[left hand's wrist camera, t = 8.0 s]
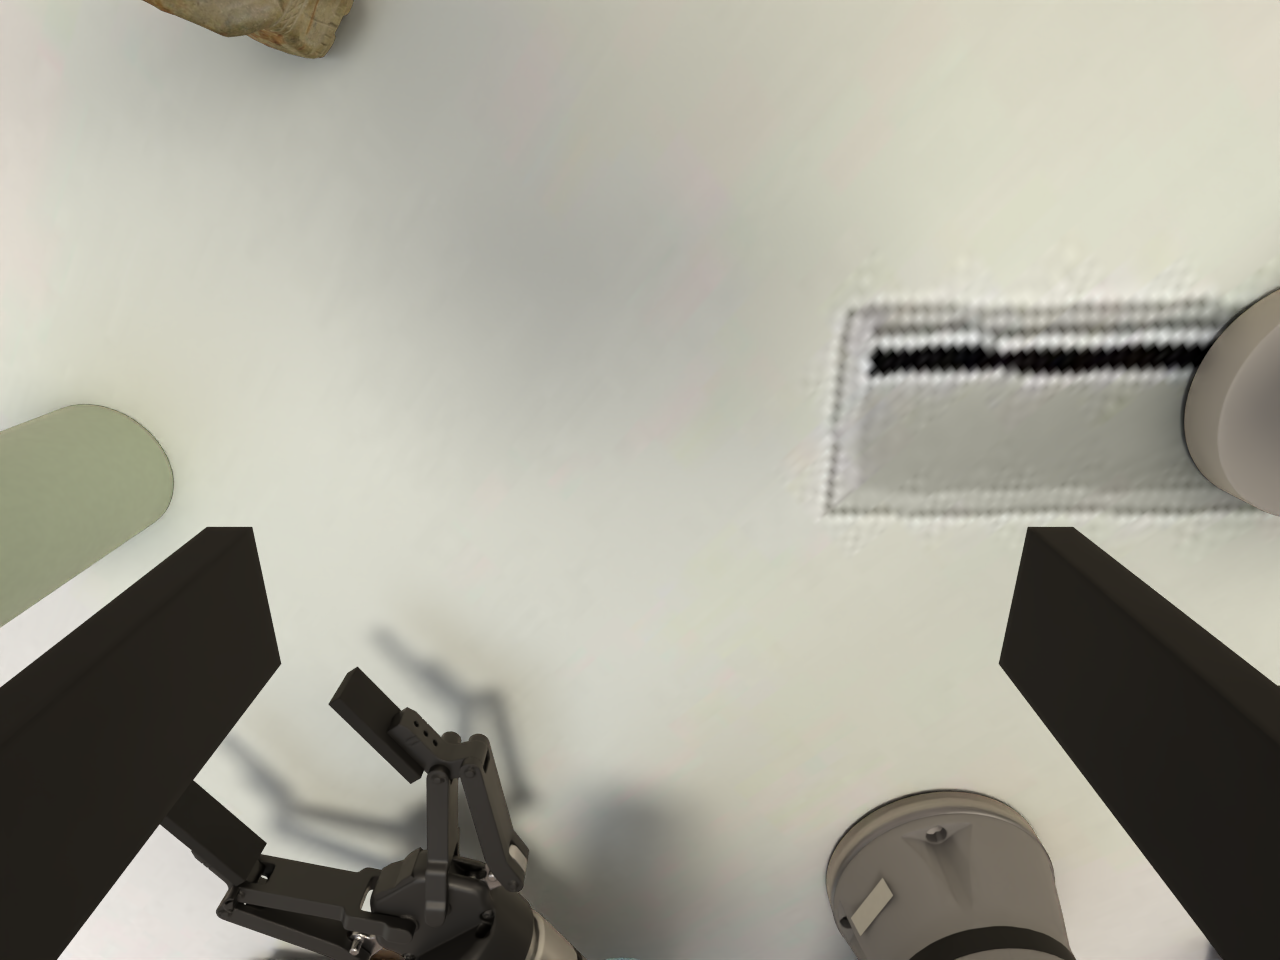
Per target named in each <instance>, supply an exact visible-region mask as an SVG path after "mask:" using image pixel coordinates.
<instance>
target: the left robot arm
mask: <svg viewBox="0 0 1280 960" xmlns="http://www.w3.org/2000/svg"><path fill="white" fill-rule="evenodd" d="M280 665H281V661H280V656H279V651H278V647H277V642H276V637H275V632H274V628H273V623H272V618H271V613H270V609H269V604H268V599H267V595H266V590H265V585H264V580H263V576H262V571H261V566H260V561H259V557H258V552H257V547H256V543H255V538H254V533H253V528H252V527H206V528H205V529H204V530H202V531H201V532H200V533H199V534H197V535H196V536H195V537H193V538H192V539H191V540H190V541H188V542H187V543H186V544H184V545H183V546H182V547H181V548H179V549H178V550H177V551H175V552H174V553H173V554H172V555H170V556H169V557H168V558H166V559H165V560H164V561H163V562H161V563H160V564H159V565H157V566H156V567H155V568H154V569H152V570H151V571H150V572H148V573H147V574H146V575H145V576H143V577H142V578H141V579H139V580H138V581H137V582H136V583H134V584H133V585H132V586H130V587H129V588H128V589H127V590H125V591H124V592H123V593H121V594H120V595H119V596H117V597H116V598H115V599H114V600H112V601H111V602H110V603H108V604H107V605H106V606H105V607H103V608H102V609H101V610H99V611H98V612H97V613H96V614H94V615H93V616H92V617H90V618H89V619H88V620H87V621H85V622H84V623H83V624H81V625H80V626H79V627H78V628H76V629H75V630H74V631H72V632H71V633H70V634H69V635H67V636H66V637H65V638H63V639H62V640H61V641H60V642H58V643H57V644H56V645H54V646H53V647H52V648H51V649H49V650H48V651H47V652H45V653H44V654H43V655H42V656H40V657H39V658H38V659H36V660H35V661H34V662H33V663H31V664H30V665H29V666H27V667H26V668H25V669H24V670H22V671H21V672H20V673H18V674H17V675H16V676H15V677H13V678H12V679H11V680H9V681H8V682H7V683H6V684H4V685H3V686H2V687H0V960H57V959H58V957H59V956H60V955H61V954H62V952H63V951H64V950H65V948H66V947H67V946H68V944H69V943H70V942H71V940H72V939H73V938H74V936H75V935H76V934H77V932H78V931H79V930H80V928H81V927H82V926H83V925H84V923H85V922H86V921H87V919H88V918H89V917H90V915H91V914H92V913H93V911H94V910H95V909H96V907H97V906H98V905H99V903H100V902H101V901H102V899H103V898H104V897H105V895H106V894H107V893H108V892H109V890H110V889H111V888H112V886H113V885H114V884H115V882H116V881H117V880H118V878H119V877H120V876H121V874H122V873H123V872H124V870H125V869H126V868H127V866H128V865H129V864H130V863H131V861H132V860H133V859H134V857H135V856H136V855H137V853H138V852H139V851H140V849H141V848H142V847H143V845H144V844H145V843H146V841H147V840H148V839H149V837H150V836H151V835H152V834H153V832H154V831H155V830H156V828H157V827H158V826H159V824H160V823H161V822H162V820H163V819H164V818H165V816H166V815H167V814H168V812H169V811H170V810H171V808H172V807H173V806H174V804H175V803H176V802H177V801H178V799H179V798H180V797H181V795H182V794H183V793H184V791H185V790H186V789H187V787H188V786H189V785H190V783H191V782H192V781H193V779H194V778H195V777H196V775H197V774H198V773H199V772H200V770H201V769H202V768H203V766H204V765H205V764H206V762H207V761H208V760H209V758H210V757H211V756H212V754H213V753H214V752H215V750H216V749H217V748H218V746H219V745H220V744H221V743H222V741H223V740H224V739H225V737H226V736H227V735H228V733H229V732H230V731H231V729H232V728H233V727H234V725H235V724H236V723H237V721H238V720H239V719H240V717H241V716H242V715H243V713H244V712H245V711H246V710H247V708H248V707H249V706H250V704H251V703H252V702H253V700H254V699H255V698H256V696H257V695H258V694H259V692H260V691H261V690H262V688H263V687H264V686H265V684H266V683H267V682H268V681H269V679H270V678H271V677H272V675H273V674H274V673H275V671H276V670H277V669H278V667H279V666H280ZM999 665H1000V666H1001V667H1002V669H1003V670H1004V671H1005V673H1006V674H1007V675H1008V677H1009V678H1010V679H1011V681H1012V682H1013V683H1014V684H1015V686H1016V687H1017V688H1018V690H1019V691H1020V692H1021V694H1022V695H1023V696H1024V698H1025V699H1026V700H1027V702H1028V703H1029V704H1030V706H1031V707H1032V708H1033V710H1034V711H1035V712H1036V714H1037V715H1038V716H1039V717H1040V719H1041V720H1042V721H1043V723H1044V724H1045V725H1046V727H1047V728H1048V729H1049V731H1050V732H1051V733H1052V735H1053V736H1054V737H1055V739H1056V740H1057V741H1058V743H1059V744H1060V745H1061V746H1062V748H1063V749H1064V750H1065V752H1066V753H1067V754H1068V756H1069V757H1070V758H1071V760H1072V761H1073V762H1074V764H1075V765H1076V766H1077V768H1078V769H1079V770H1080V772H1081V773H1082V774H1083V775H1084V777H1085V778H1086V779H1087V781H1088V782H1089V783H1090V785H1091V786H1092V787H1093V789H1094V790H1095V791H1096V793H1097V794H1098V795H1099V797H1100V798H1101V799H1102V801H1103V802H1104V803H1105V804H1106V806H1107V807H1108V808H1109V810H1110V811H1111V812H1112V814H1113V815H1114V816H1115V818H1116V819H1117V820H1118V822H1119V823H1120V824H1121V826H1122V827H1123V828H1124V830H1125V831H1126V832H1127V834H1128V835H1129V836H1130V837H1131V839H1132V840H1133V841H1134V843H1135V844H1136V845H1137V847H1138V848H1139V849H1140V851H1141V852H1142V853H1143V855H1144V856H1145V857H1146V859H1147V860H1148V861H1149V863H1150V864H1151V865H1152V866H1153V868H1154V869H1155V870H1156V872H1157V873H1158V874H1159V876H1160V877H1161V878H1162V880H1163V881H1164V882H1165V884H1166V885H1167V886H1168V888H1169V889H1170V890H1171V892H1172V893H1173V894H1174V895H1175V897H1176V898H1177V899H1178V901H1179V902H1180V903H1181V905H1182V906H1183V907H1184V909H1185V910H1186V911H1187V913H1188V914H1189V915H1190V917H1191V918H1192V919H1193V921H1194V922H1195V923H1196V925H1197V926H1198V927H1199V928H1200V930H1201V931H1202V932H1203V934H1204V935H1205V936H1206V938H1207V939H1208V940H1209V942H1210V943H1211V944H1212V946H1213V947H1214V948H1215V950H1216V951H1217V952H1218V954H1219V955H1220V956H1221V957H1222V959H1223V960H1280V686H1277V685H1276V684H1274V683H1273V682H1272V681H1271V680H1269V679H1268V678H1267V677H1265V676H1264V675H1263V674H1262V673H1260V672H1259V671H1258V670H1256V669H1255V668H1254V667H1253V666H1251V665H1250V664H1249V663H1247V662H1246V661H1245V660H1244V659H1242V658H1241V657H1240V656H1238V655H1237V654H1236V653H1235V652H1233V651H1232V650H1231V649H1229V648H1228V647H1227V646H1226V645H1224V644H1223V643H1222V642H1220V641H1219V640H1218V639H1217V638H1215V637H1214V636H1213V635H1211V634H1210V633H1209V632H1208V631H1206V630H1205V629H1204V628H1202V627H1201V626H1200V625H1199V624H1197V623H1196V622H1195V621H1193V620H1192V619H1191V618H1190V617H1188V616H1187V615H1186V614H1184V613H1183V612H1182V611H1181V610H1179V609H1178V608H1177V607H1175V606H1174V605H1173V604H1172V603H1170V602H1169V601H1168V600H1166V599H1165V598H1164V597H1163V596H1161V595H1160V594H1159V593H1157V592H1156V591H1155V590H1153V589H1152V588H1151V587H1150V586H1148V585H1147V584H1146V583H1144V582H1143V581H1142V580H1141V579H1139V578H1138V577H1137V576H1135V575H1134V574H1133V573H1132V572H1130V571H1129V570H1128V569H1126V568H1125V567H1124V566H1123V565H1121V564H1120V563H1119V562H1117V561H1116V560H1115V559H1114V558H1112V557H1111V556H1110V555H1108V554H1107V553H1106V552H1105V551H1103V550H1102V549H1101V548H1099V547H1098V546H1097V545H1096V544H1094V543H1093V542H1092V541H1090V540H1089V539H1088V538H1087V537H1085V536H1084V535H1083V534H1081V533H1080V532H1079V531H1078V530H1076V529H1075V528H1074V527H1028V528H1027V533H1026V538H1025V543H1024V547H1023V552H1022V557H1021V561H1020V566H1019V571H1018V576H1017V580H1016V585H1015V590H1014V595H1013V599H1012V604H1011V609H1010V613H1009V618H1008V623H1007V628H1006V632H1005V637H1004V642H1003V647H1002V651H1001V656H1000V661H999Z"/></svg>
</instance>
